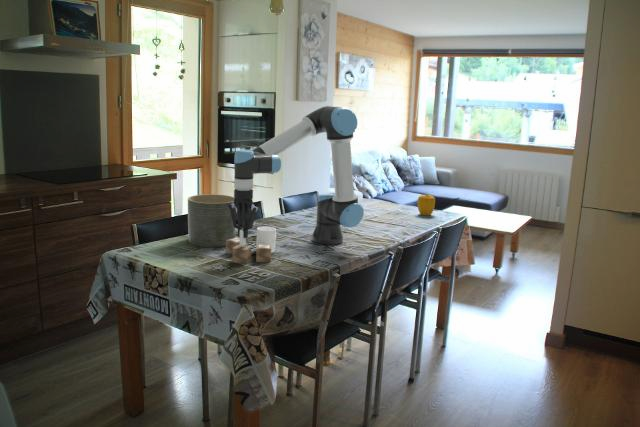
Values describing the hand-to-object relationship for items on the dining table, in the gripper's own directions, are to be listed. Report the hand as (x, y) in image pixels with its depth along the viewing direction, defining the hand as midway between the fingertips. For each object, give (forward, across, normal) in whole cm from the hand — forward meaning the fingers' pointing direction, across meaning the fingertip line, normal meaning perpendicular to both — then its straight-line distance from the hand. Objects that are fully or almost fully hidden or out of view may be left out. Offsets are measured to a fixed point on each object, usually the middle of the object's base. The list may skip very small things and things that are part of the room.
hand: (242, 245), depth 226 cm
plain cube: (+7, 0, 0) cm, 7 cm away
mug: (+7, -2, -20) cm, 21 cm away
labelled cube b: (+7, -7, -6) cm, 11 cm away
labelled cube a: (+7, +8, -9) cm, 14 cm away
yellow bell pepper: (+8, -49, -142) cm, 150 cm away
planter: (+7, +27, -20) cm, 34 cm away
